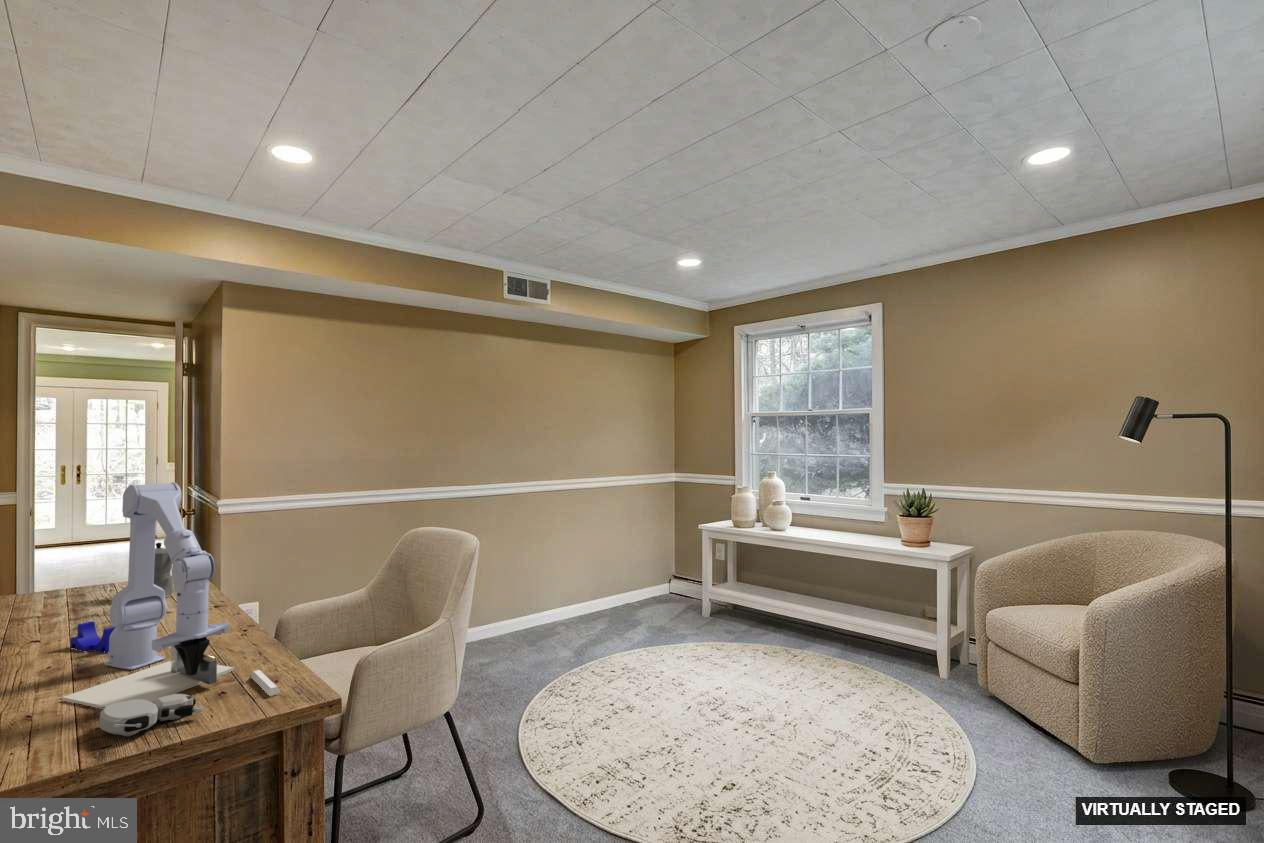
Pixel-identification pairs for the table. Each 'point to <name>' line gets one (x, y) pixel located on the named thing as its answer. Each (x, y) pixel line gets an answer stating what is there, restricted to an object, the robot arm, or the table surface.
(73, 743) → the table surface
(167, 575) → the coffeepot
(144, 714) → the robot toy
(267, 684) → the marker
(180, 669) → the gate
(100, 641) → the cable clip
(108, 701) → the gate board
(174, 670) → the gate post
